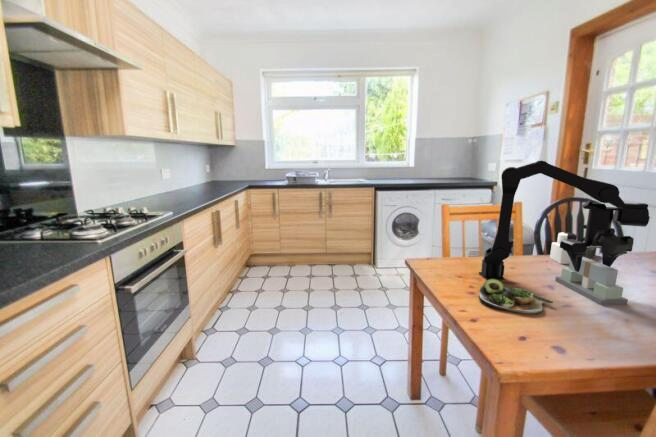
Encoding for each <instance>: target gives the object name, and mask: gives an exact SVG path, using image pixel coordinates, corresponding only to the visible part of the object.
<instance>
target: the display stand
mask: <svg viewBox="0 0 656 437" xmlns="http://www.w3.org/2000/svg"><path fill="white" fill-rule="evenodd" d="M560 275H561V276H555V280H554V281H556V283H559V284H561V285H563V287H565V288H566V287H567V288H569V289H570V290H572V291H573V292H576V293H577V294H579V295H581V296H583V297H585V298H587V299H589V300H591V301H592V302H594V303H596V304H598V305H600V306H605V305H606V306H608V305H609V306H610V305H612V306H613V305H615V306H617V305H628V299H627V298H626V297H624V296H623V292H624V287H622V286H620V285H619V284H616V285H615V286H604V285H602V284H600V283H597V282H595V281H593V280H591V279H589V278H587V277H584V276H582V275H580V274H578V273H576V272H574V271H571V270H569V266H568V267H562V268H561V274H560Z"/></svg>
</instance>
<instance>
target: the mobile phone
mask: <svg viewBox="0 0 656 437" xmlns="http://www.w3.org/2000/svg"><path fill="white" fill-rule="evenodd" d="M596 252H597V248H587V250H586V251H585V252H584V253H586V255H585V256H583V257H586V258H588V259H591V258H594V257H595V256H596V254H597V253H596Z"/></svg>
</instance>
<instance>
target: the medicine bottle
mask: <svg viewBox="0 0 656 437" xmlns="http://www.w3.org/2000/svg"><path fill="white" fill-rule="evenodd" d="M564 239H574V240H577V239H578V235H577V234H576V233H573V232H568V231H566V232H565V231H563V232H562V231H561V232H558V234H557V240H556V241H554V242H551V247H550V253H549V254H550V255H549V258H550V259H551V260H553V261H554V262H556V263H558V264H560V265H569V263H570V257H569V255H568V253H567V252H566V251H565V250H563V249H562V248H560V242H561V241H562V240H564Z"/></svg>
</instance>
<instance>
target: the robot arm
mask: <svg viewBox="0 0 656 437" xmlns="http://www.w3.org/2000/svg"><path fill="white" fill-rule="evenodd" d="M501 172H502V173H501V192H502V195H501V202H500V208H499V209H500V211H499V215H498V216H499V217H498V218H499V219H498V224H497V229H496V230H497V231H496V233H495V236H494V238H493V241H492V244H491V247H489V248H488V249H486V250H485V251H484V256H483V259H482V261H481V271H479V272H478V274H479V275H480V276H481V277H483V278H484V279H486V281H487V280H489V279H496V280H499V281H500V280H501V281H502V280H506V278H505V277H504V275H505V265H504V263H505V262H504V260H506V259H508V258H509V257H510V254H513V246H514V238H513V237H510V229H511V221H512V216H513V209H514V208H513V207H514V203H515V202H514V201H515V196H516V193H517V190H518V188H519V185H520V183H521V180H524V179H527V178H530V177H533V176H536V175H538V174H542V175H543V176H546V177H549V178H551V179H554V180H556V181H559V182H561V183H564V184H566V185H569V186H571V187H574V188H576V189H577V190H580V191H581V192H582V193H584V194H586V195H587V196H589V197H591V199H594V200H595V201H597V202H599V203H596V202H595V203H594V202H592V201H591V200H587V201H586V202H585V203H584V204H581V207H582V209H585V210H588V213H587V214H588V215H587V220H586V221H587V222H586V224H583V225H582V228H583V229H585V233H584V236H581V238H580V240H577V239H576V240H574V239H564V240H562V241H561V242H560V248H562V249H563V250H565V251H566V252H567V253H568V255H569V257H570V259H571V262H572V264H573V267H574V269H575V271H577V272H579V270H580V267H581V262H582V257H583V256H585V255H586V253H584V252H585V251H586V250H587V248H596V249H601V251H602V252H601V254H602V255H601V257H602V259H601V260H602V263H601V264H604V265H606V266H609V267H611V268H612V265H613V264H614V262H615V261H616V259H617V258H618V257H620V256H623V255H627V254H628V253H629V252H632V251H633V247H634V238H633V237H632V236H631V235H623V236H620V235H616V229H615V228H614V227H612V223H613V221H614V222H616V223H617V225H618V226H629V227H630V226H631V227H642V228H643V227H644V228H646V227H647V226H648V224H649V222H650V219H651V217H650V211H649V204H648V203H644V202H638V203H630V202H629V203H628V202H625V201H623V199H622V198H621V197H620V189H619V187H618V186H616V185H614V184H612V183H608V182H605V181H601V180H596V179H592V178H588V177H587V178H586V177H583V176H581V175H578V174H575V173H573V172H571V171H569V170H566V169H562V168H561V167H558V166H555V165H552V164H550V163H548V162H547V161H545V160H537V161H535V162H532V163H527V164H525V165H521V166H519V167H516V166H508V167H506V168H505V169H503V170H502V171H501ZM606 204H610V205H612V206H607V205H606Z"/></svg>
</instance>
